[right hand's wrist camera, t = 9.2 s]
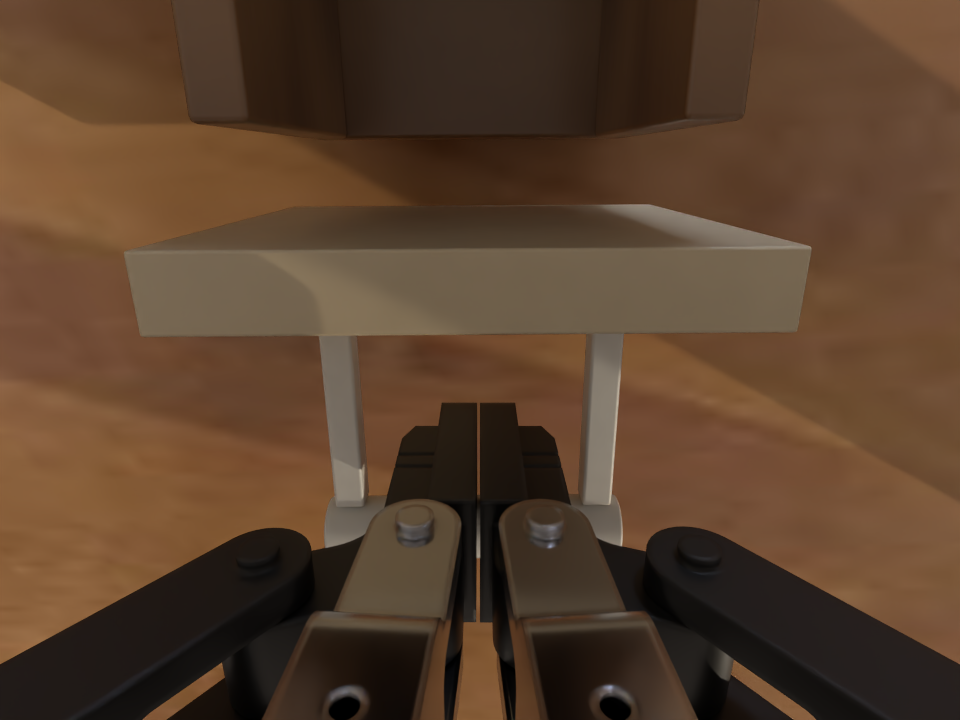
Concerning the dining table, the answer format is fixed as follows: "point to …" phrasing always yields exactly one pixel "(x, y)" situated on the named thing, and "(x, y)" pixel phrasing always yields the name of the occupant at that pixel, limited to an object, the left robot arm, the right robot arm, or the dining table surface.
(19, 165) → the dining table surface
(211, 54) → the drawer
